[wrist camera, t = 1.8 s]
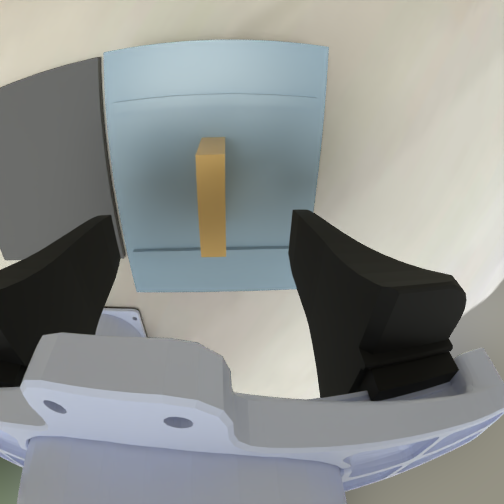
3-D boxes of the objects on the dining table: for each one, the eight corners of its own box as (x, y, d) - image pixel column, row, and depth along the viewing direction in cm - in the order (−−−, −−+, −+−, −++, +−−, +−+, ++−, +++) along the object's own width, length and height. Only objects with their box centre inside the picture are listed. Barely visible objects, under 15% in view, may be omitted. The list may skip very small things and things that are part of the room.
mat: (125, 254, 24) (123, 258, 24) (7, 257, 23) (4, 260, 23) (100, 57, 15) (97, 57, 15) (-31, 102, 14) (-34, 103, 14)
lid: (296, 272, 22) (313, 325, 18) (142, 276, 21) (125, 329, 17) (318, 49, 14) (355, 42, 9) (115, 53, 13) (73, 50, 9)
